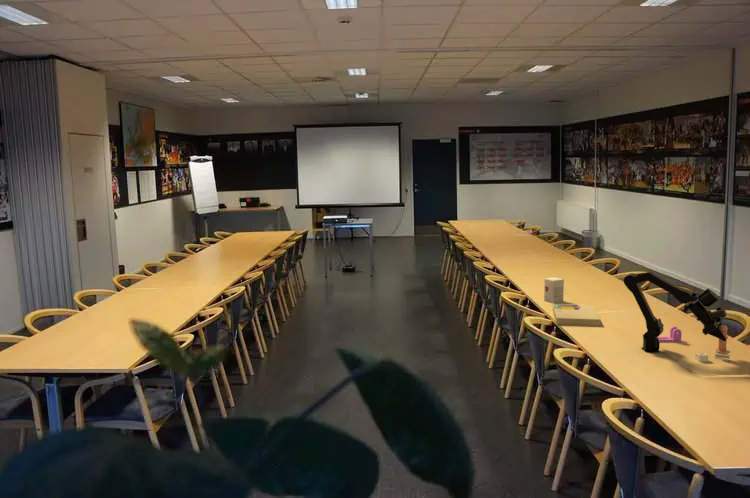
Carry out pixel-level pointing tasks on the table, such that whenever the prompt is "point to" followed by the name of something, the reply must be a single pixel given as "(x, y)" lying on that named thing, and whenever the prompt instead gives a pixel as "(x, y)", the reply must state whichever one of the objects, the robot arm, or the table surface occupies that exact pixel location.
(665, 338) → the bracket
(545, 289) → the supplement box
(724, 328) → the pawn
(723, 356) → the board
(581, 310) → the puzzle box
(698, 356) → the die
